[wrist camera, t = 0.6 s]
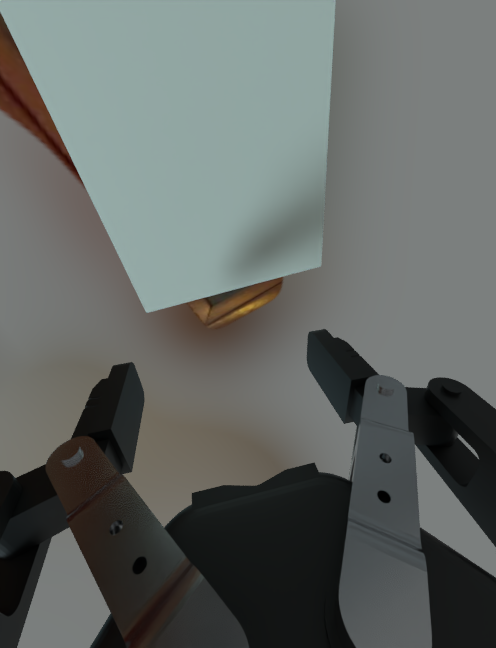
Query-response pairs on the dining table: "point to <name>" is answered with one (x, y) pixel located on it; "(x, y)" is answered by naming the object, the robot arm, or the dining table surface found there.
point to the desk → (191, 131)
